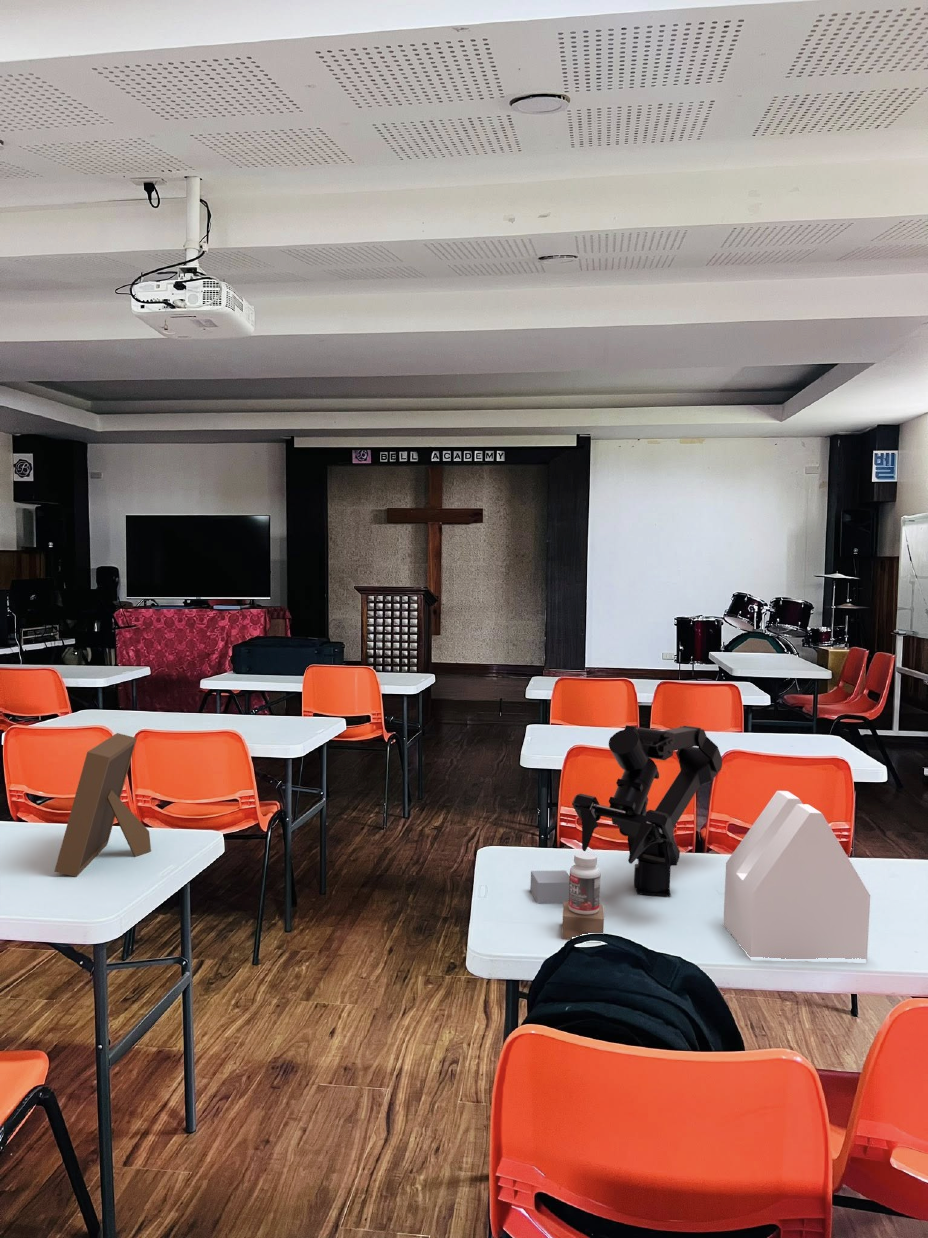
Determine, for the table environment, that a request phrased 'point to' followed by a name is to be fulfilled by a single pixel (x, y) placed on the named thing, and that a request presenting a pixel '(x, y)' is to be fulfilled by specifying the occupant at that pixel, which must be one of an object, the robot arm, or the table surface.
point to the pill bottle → (584, 884)
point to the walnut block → (581, 922)
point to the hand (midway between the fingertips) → (606, 856)
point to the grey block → (550, 886)
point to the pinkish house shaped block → (795, 888)
